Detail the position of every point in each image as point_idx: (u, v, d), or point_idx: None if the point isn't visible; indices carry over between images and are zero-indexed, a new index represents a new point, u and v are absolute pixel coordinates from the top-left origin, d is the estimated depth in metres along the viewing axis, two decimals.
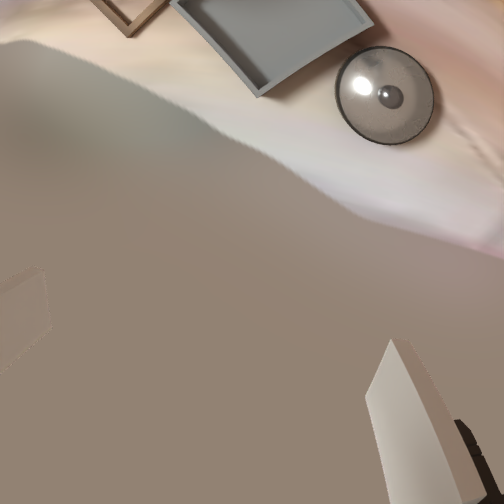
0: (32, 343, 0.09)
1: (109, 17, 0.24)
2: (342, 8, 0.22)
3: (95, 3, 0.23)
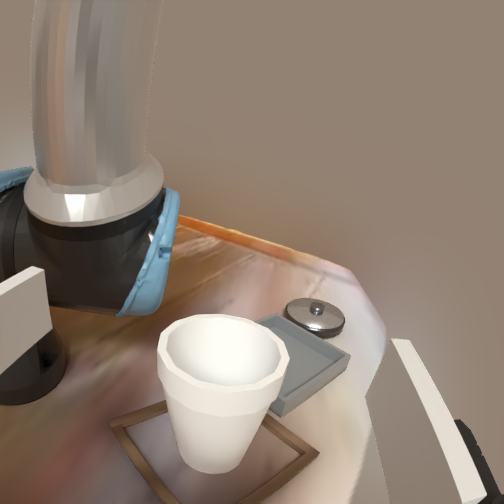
0: (32, 343, 0.09)
1: (292, 472, 0.23)
2: None
3: (267, 492, 0.20)
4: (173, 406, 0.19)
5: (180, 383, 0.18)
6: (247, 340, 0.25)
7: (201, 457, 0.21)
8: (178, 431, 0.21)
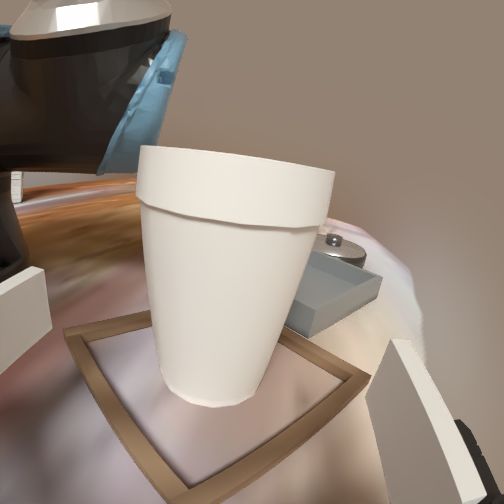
0: (32, 343, 0.09)
1: (339, 402, 0.16)
2: None
3: (306, 431, 0.14)
4: (153, 238, 0.13)
5: (169, 162, 0.11)
6: None
7: (195, 363, 0.14)
8: (158, 306, 0.14)
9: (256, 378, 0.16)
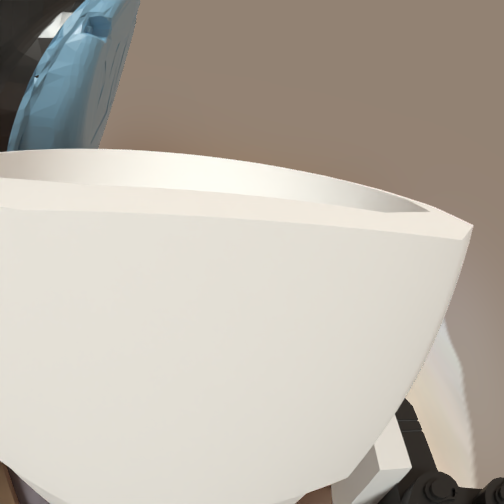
0: None
1: None
2: None
3: None
4: None
5: None
6: None
7: None
8: None
9: None
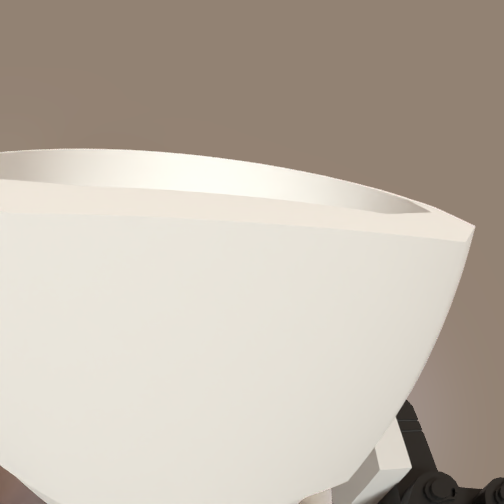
0: None
1: None
2: None
3: None
4: None
5: None
6: None
7: None
8: None
9: None
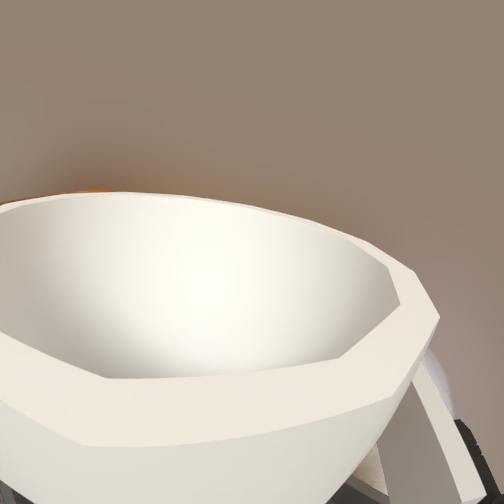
0: None
1: None
2: None
3: None
4: None
5: None
6: (252, 261, 0.10)
7: None
8: None
9: None
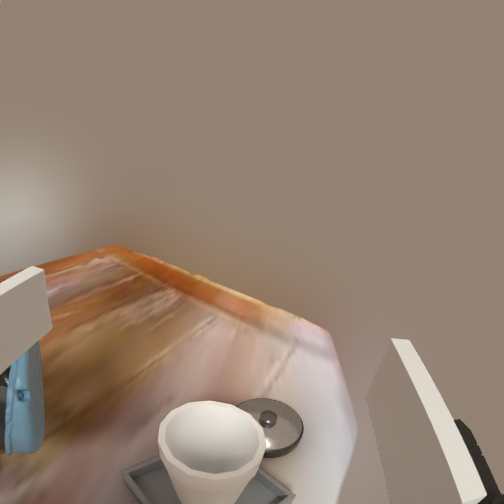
0: (32, 343, 0.09)
1: None
2: None
3: None
4: (173, 479, 0.21)
5: (177, 470, 0.19)
6: (232, 422, 0.27)
7: None
8: (178, 492, 0.22)
9: None
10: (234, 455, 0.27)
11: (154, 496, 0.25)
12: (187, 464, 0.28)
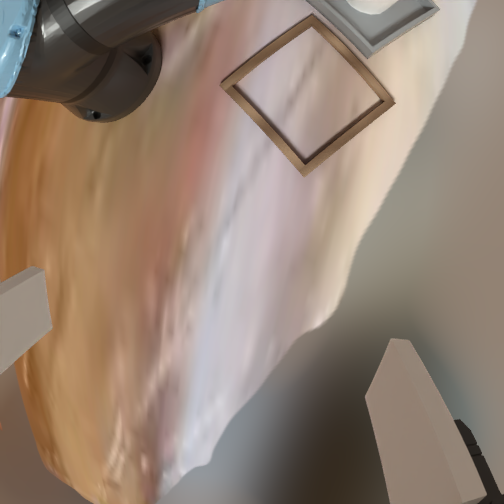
0: (32, 343, 0.09)
1: (372, 119, 0.32)
2: None
3: (352, 135, 0.33)
4: None
5: None
6: None
7: (368, 4, 0.25)
8: None
9: (389, 6, 0.26)
10: None
11: None
12: None
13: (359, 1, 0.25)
